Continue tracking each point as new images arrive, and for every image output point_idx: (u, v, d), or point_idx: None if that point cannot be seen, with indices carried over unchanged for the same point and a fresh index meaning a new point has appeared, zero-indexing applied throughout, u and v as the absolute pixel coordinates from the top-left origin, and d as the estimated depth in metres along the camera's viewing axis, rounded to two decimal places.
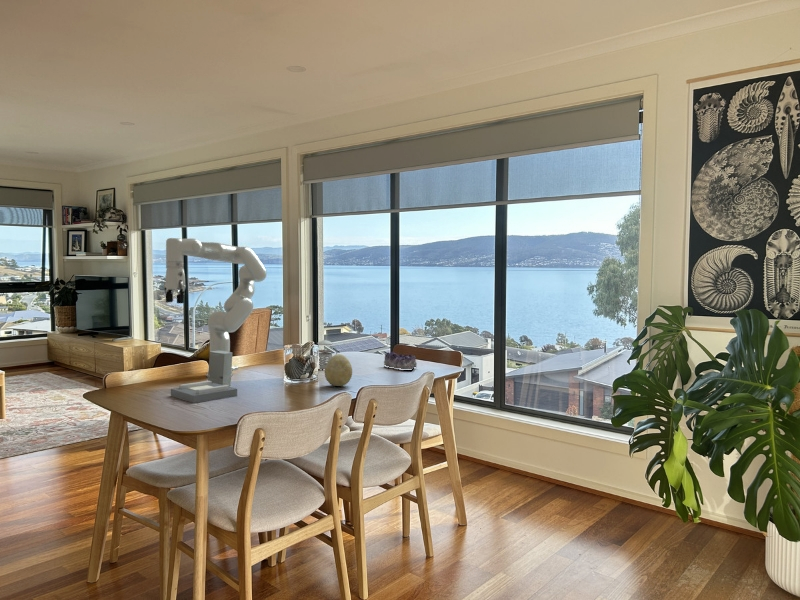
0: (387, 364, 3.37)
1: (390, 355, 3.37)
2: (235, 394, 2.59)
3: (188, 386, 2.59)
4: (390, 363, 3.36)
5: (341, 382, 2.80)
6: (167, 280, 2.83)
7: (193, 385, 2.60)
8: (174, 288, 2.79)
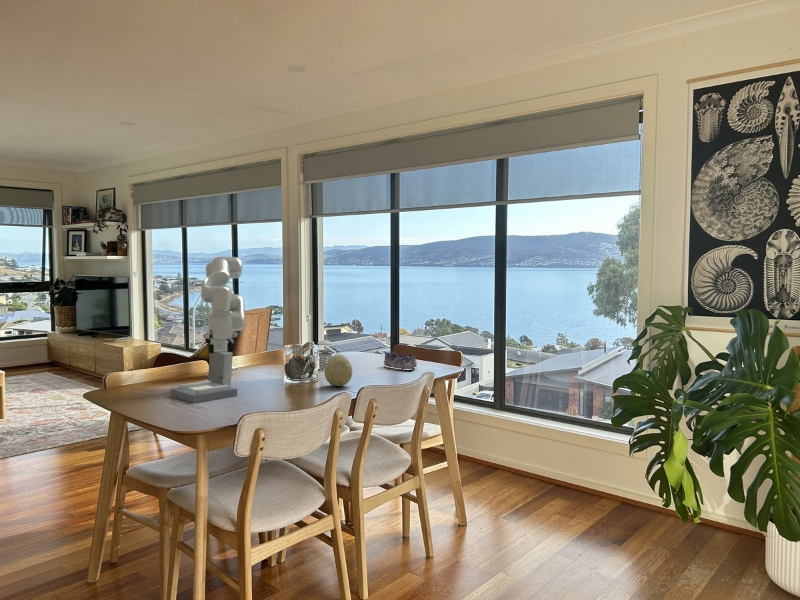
0: (387, 364, 3.37)
1: (390, 355, 3.37)
2: (235, 394, 2.59)
3: (188, 386, 2.59)
4: (390, 363, 3.36)
5: (341, 382, 2.80)
6: (219, 330, 2.73)
7: (193, 385, 2.60)
8: (229, 337, 2.78)
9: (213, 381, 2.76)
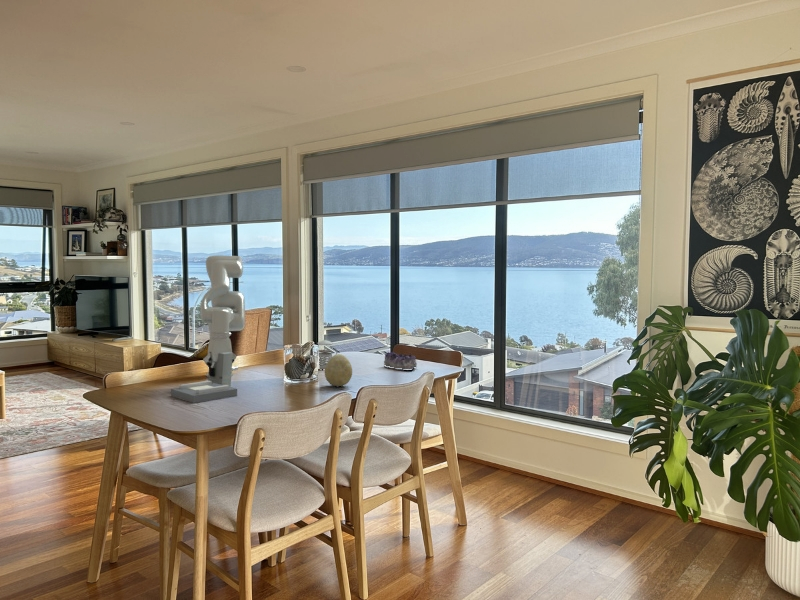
0: (387, 364, 3.38)
1: (390, 355, 3.38)
2: (235, 394, 2.59)
3: (188, 386, 2.59)
4: (390, 363, 3.36)
5: (341, 382, 2.80)
6: (218, 352, 2.75)
7: (193, 385, 2.60)
8: None
9: (213, 381, 2.76)
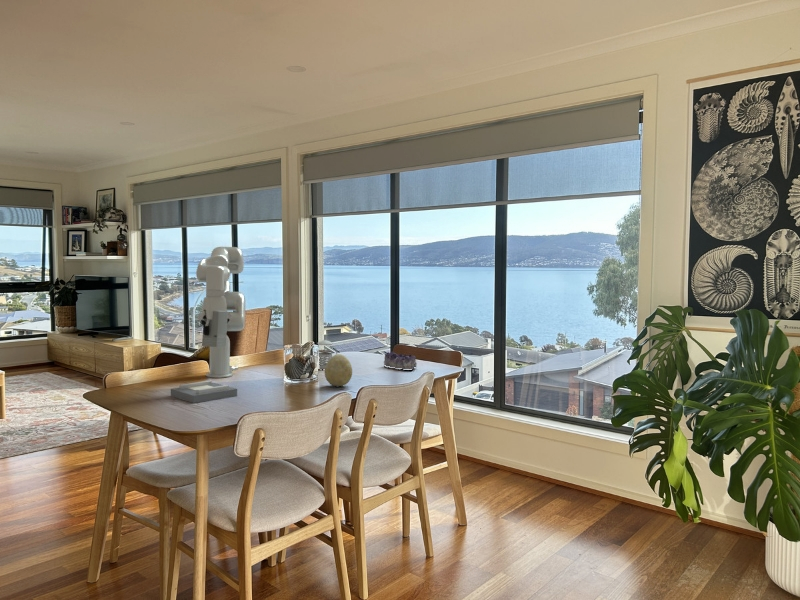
0: (387, 364, 3.38)
1: None
2: (235, 394, 2.59)
3: (188, 386, 2.59)
4: (390, 363, 3.36)
5: (341, 382, 2.80)
6: (213, 310, 2.66)
7: (193, 385, 2.60)
8: None
9: (207, 340, 2.67)
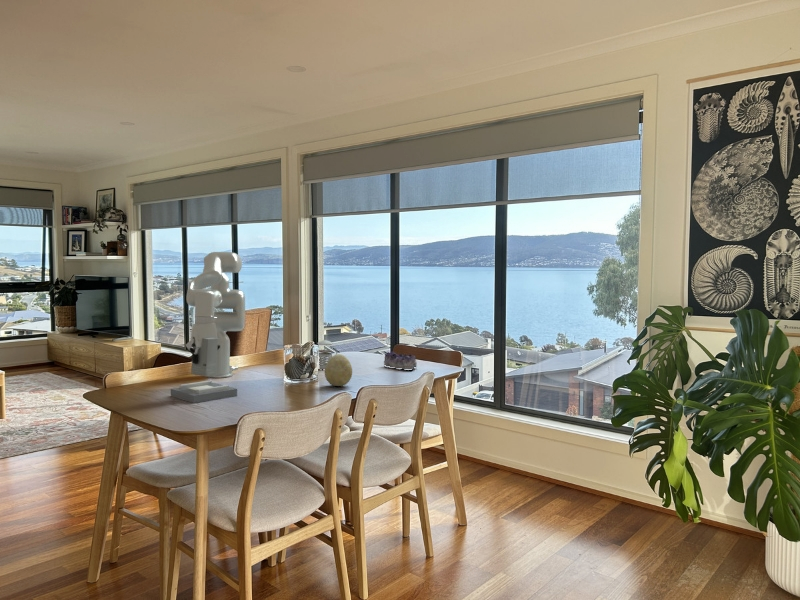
0: (387, 364, 3.38)
1: (390, 355, 3.38)
2: (235, 394, 2.59)
3: (188, 386, 2.59)
4: (390, 363, 3.36)
5: (341, 382, 2.80)
6: (202, 338, 2.54)
7: (193, 385, 2.60)
8: None
9: (196, 369, 2.55)
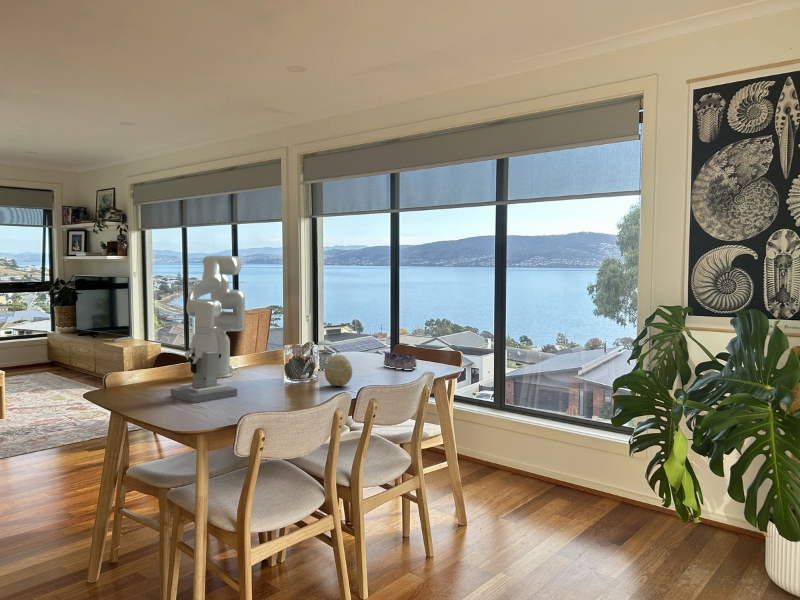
0: (387, 364, 3.38)
1: (390, 355, 3.38)
2: (235, 394, 2.59)
3: (188, 386, 2.59)
4: (390, 363, 3.36)
5: (341, 382, 2.80)
6: (202, 348, 2.54)
7: None
8: None
9: (197, 382, 2.56)
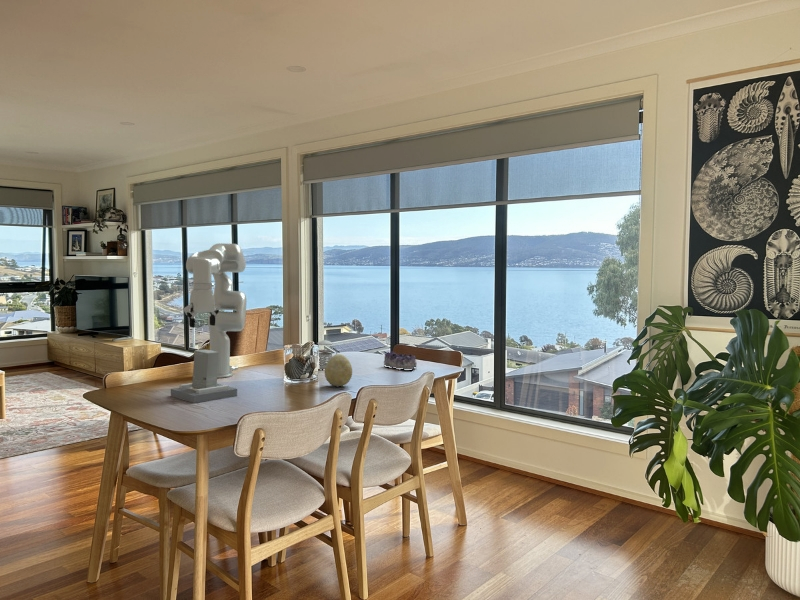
0: (387, 364, 3.38)
1: (390, 355, 3.38)
2: (235, 394, 2.59)
3: (188, 386, 2.59)
4: (390, 363, 3.37)
5: (341, 382, 2.80)
6: (200, 303, 2.63)
7: None
8: (211, 310, 2.68)
9: (197, 382, 2.56)
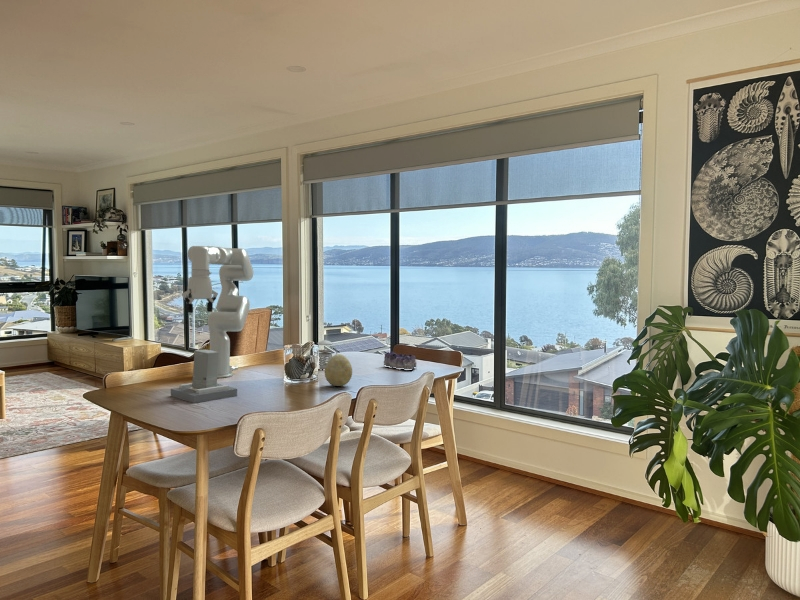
0: (387, 364, 3.38)
1: None
2: (235, 394, 2.59)
3: (188, 386, 2.59)
4: (390, 363, 3.37)
5: (341, 382, 2.80)
6: (198, 289, 2.73)
7: None
8: (209, 297, 2.78)
9: (197, 382, 2.56)
